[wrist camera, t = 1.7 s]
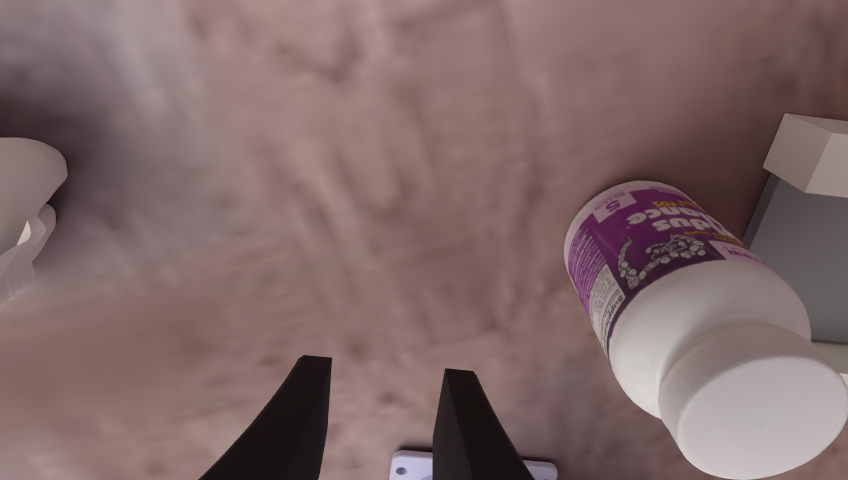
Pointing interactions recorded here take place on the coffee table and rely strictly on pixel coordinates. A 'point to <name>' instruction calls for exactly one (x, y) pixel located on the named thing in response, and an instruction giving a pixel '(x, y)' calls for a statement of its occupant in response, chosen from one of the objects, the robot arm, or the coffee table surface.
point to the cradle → (809, 225)
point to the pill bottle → (703, 333)
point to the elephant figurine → (25, 209)
